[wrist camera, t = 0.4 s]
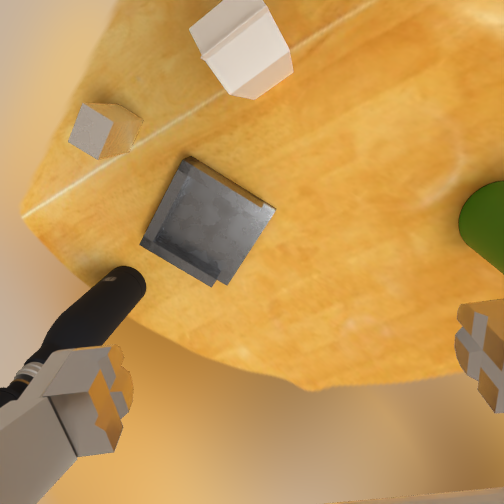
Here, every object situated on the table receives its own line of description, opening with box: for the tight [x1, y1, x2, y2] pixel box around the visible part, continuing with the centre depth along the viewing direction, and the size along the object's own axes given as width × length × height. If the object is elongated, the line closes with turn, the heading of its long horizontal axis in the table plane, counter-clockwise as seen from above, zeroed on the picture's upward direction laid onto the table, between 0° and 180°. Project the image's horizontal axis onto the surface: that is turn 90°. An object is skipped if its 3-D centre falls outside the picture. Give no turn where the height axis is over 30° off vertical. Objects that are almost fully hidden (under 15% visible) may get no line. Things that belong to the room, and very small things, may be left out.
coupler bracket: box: [139, 156, 276, 287], centre depth 54 cm, size 14×14×4 cm
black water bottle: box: [0, 266, 146, 408], centre depth 47 cm, size 6×6×30 cm
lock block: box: [68, 103, 144, 160], centre depth 48 cm, size 4×5×9 cm
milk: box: [189, 0, 294, 100], centre depth 38 cm, size 6×6×22 cm
